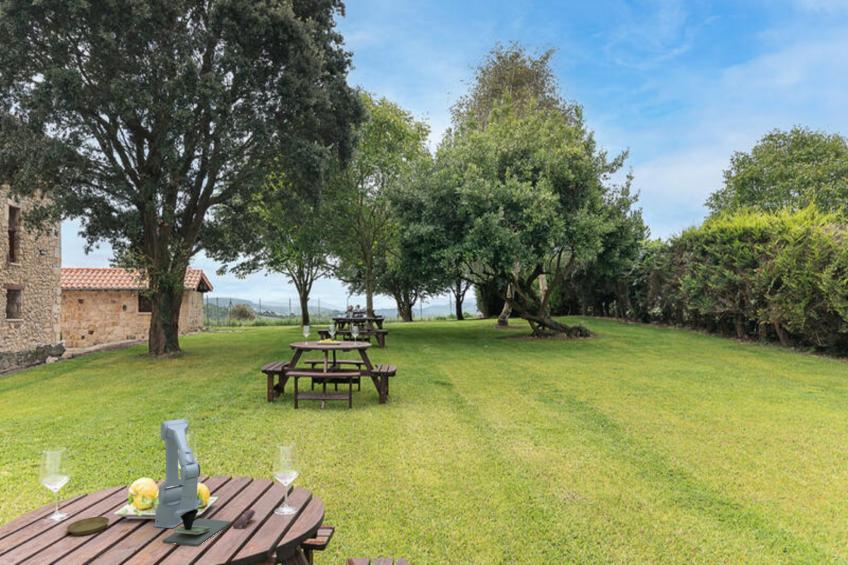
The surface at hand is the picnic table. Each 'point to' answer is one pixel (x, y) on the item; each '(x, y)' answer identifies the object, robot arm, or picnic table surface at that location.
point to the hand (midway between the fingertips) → (188, 529)
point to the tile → (193, 530)
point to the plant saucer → (88, 525)
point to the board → (199, 538)
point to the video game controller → (244, 518)
